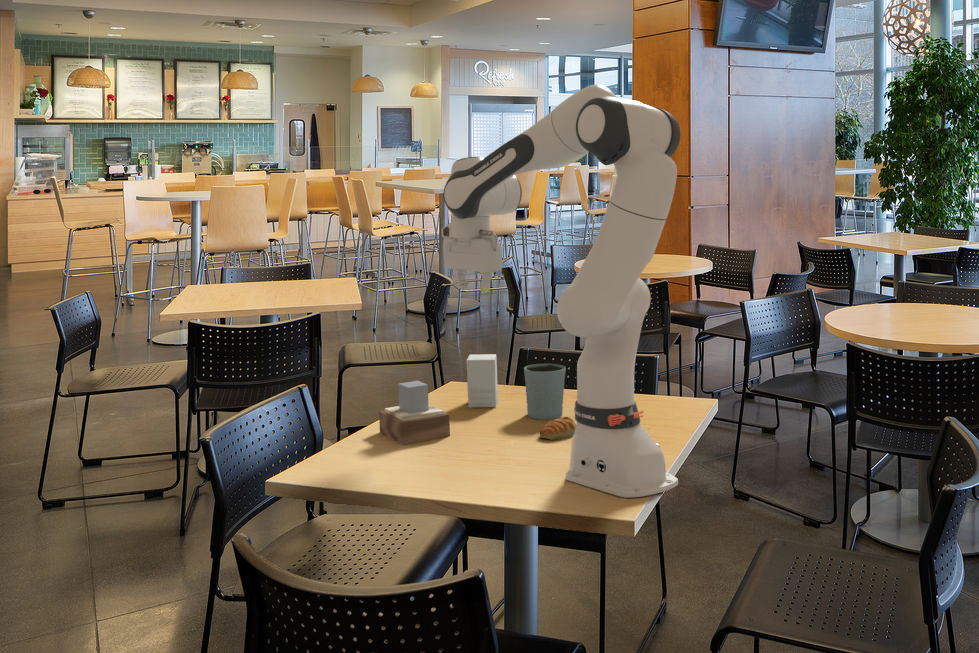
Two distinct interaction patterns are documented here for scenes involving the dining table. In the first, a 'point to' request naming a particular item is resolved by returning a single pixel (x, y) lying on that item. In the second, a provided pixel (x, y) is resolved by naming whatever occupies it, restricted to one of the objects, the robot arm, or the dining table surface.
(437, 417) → the walnut block
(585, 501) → the dining table surface
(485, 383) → the supplement box
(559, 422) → the pastry
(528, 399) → the teal cup
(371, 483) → the dining table surface
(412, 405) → the slate block
